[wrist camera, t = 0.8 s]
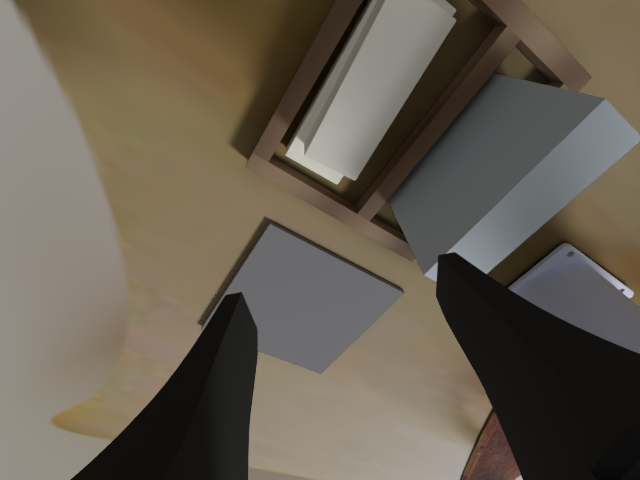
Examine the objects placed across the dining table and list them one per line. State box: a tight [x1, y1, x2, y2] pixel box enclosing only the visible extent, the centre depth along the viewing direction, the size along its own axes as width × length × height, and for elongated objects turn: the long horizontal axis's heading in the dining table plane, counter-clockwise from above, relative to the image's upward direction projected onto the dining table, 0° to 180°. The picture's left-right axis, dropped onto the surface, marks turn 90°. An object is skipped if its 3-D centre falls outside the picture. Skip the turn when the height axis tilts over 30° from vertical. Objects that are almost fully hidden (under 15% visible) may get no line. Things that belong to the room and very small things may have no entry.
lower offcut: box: [285, 0, 456, 185], centre depth 17 cm, size 4×10×2 cm, turn 148°
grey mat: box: [201, 221, 404, 374], centre depth 27 cm, size 12×12×1 cm
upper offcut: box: [304, 0, 457, 181], centre depth 16 cm, size 3×8×2 cm, turn 152°
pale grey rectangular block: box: [387, 73, 640, 282], centre depth 17 cm, size 2×9×8 cm, turn 147°
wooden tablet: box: [461, 411, 521, 480], centre depth 41 cm, size 26×2×10 cm
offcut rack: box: [245, 0, 592, 261], centre depth 18 cm, size 13×14×1 cm
